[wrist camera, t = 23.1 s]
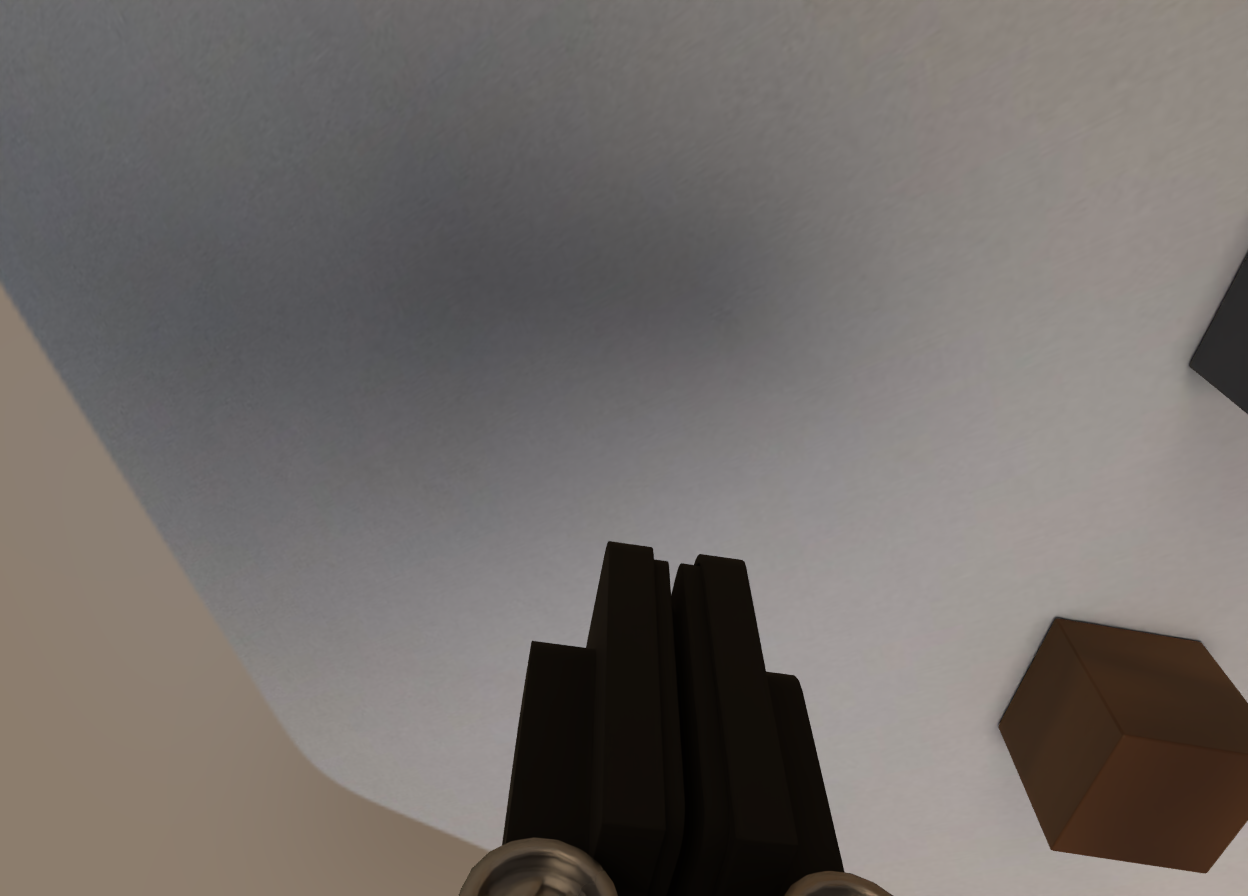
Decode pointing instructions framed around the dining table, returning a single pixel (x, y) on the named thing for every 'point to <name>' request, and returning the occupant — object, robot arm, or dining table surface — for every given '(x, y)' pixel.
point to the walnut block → (1131, 746)
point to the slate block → (1228, 344)
